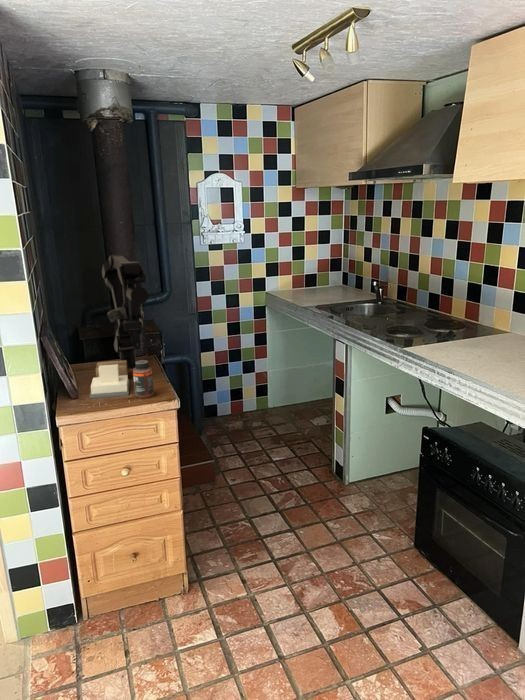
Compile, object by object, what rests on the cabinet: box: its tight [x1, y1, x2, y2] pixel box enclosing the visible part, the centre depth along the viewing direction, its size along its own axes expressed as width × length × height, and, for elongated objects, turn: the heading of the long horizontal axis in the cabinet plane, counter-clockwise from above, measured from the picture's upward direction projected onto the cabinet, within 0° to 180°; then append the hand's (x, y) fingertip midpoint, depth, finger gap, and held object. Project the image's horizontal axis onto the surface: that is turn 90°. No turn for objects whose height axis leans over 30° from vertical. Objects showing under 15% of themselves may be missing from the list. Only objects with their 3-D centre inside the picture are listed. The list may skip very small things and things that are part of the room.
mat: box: [89, 379, 131, 400], centre depth 179 cm, size 14×12×1 cm
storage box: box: [95, 360, 129, 377], centre depth 189 cm, size 8×10×5 cm
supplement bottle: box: [132, 359, 155, 399], centre depth 172 cm, size 6×6×11 cm
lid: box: [90, 364, 129, 394], centre depth 177 cm, size 9×11×8 cm
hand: (135, 343), depth 189 cm, fingers open, 9 cm apart
